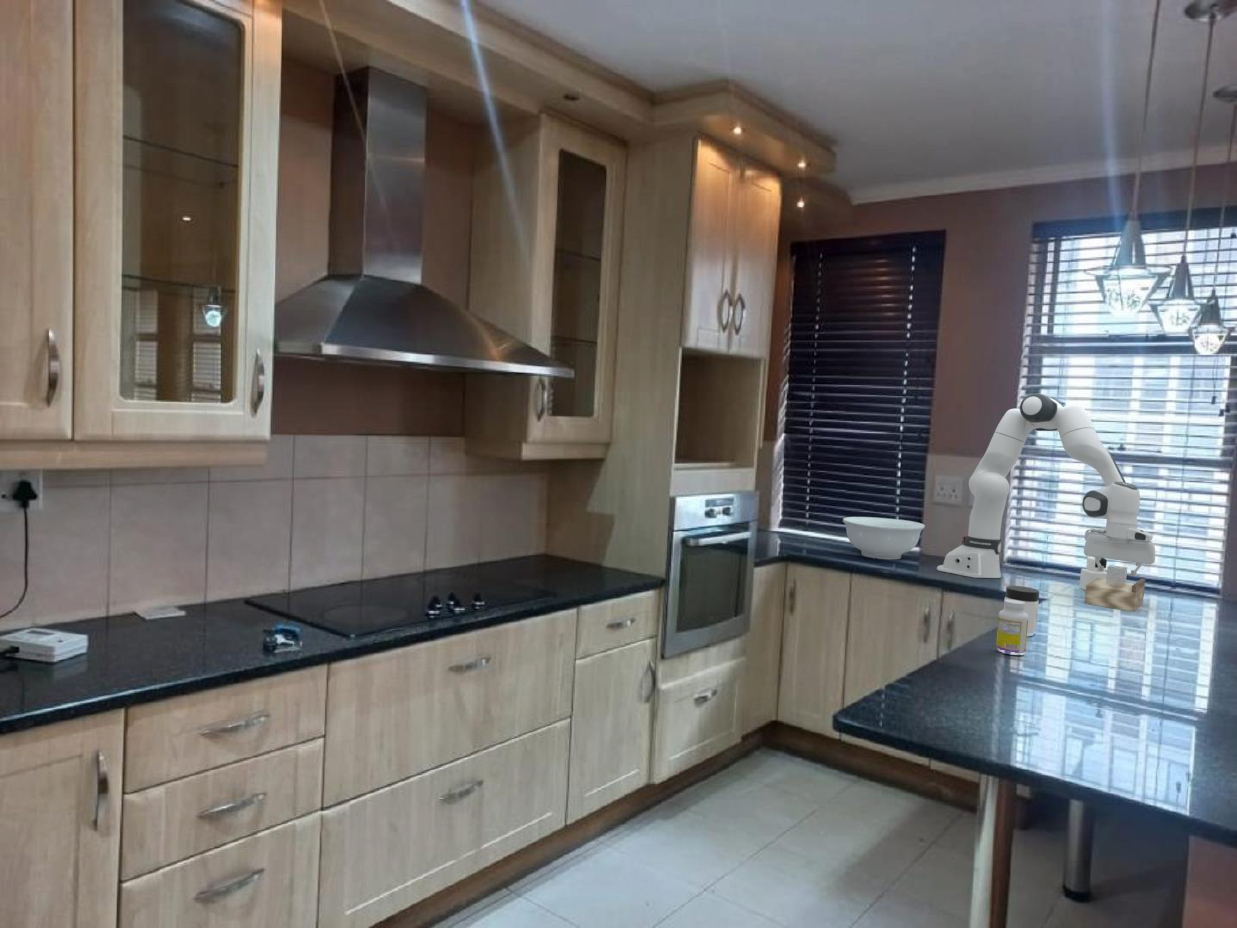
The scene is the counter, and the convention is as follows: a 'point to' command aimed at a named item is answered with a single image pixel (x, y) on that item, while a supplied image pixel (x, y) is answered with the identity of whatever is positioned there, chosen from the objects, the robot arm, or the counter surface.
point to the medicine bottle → (1092, 572)
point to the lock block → (1116, 576)
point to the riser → (1115, 594)
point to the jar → (1026, 603)
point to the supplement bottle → (1012, 627)
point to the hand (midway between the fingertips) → (1116, 573)
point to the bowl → (882, 536)
